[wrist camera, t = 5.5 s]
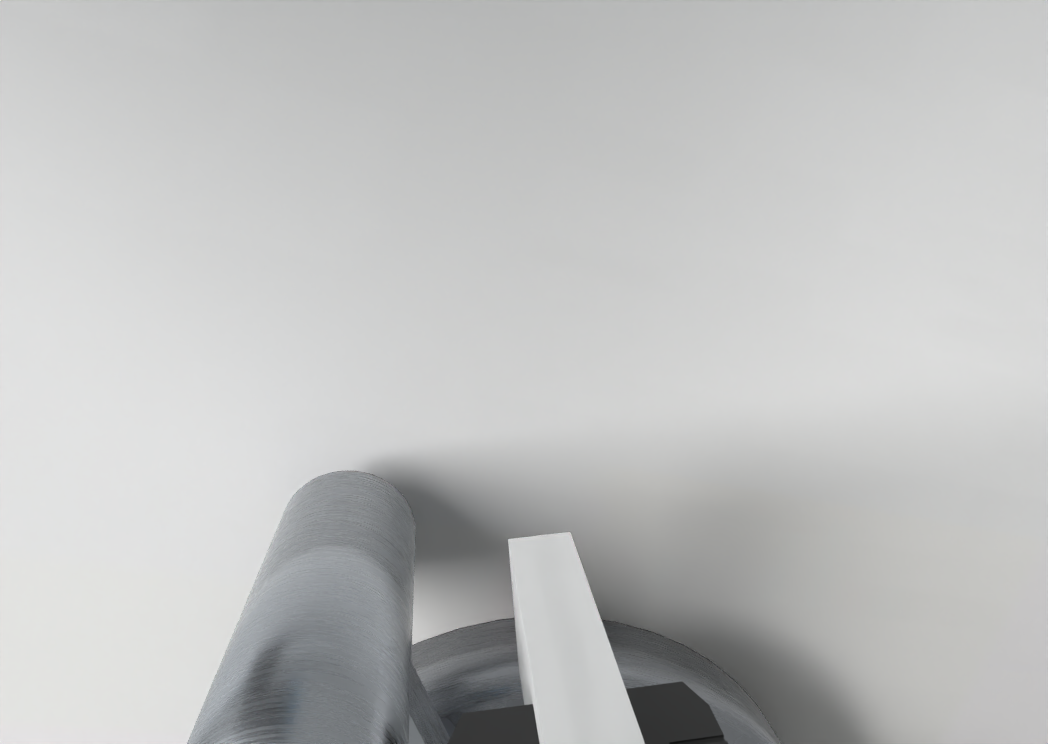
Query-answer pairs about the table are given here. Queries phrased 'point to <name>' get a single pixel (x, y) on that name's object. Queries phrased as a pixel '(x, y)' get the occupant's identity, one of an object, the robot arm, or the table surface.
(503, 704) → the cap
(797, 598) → the table surface
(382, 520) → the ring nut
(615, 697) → the robot arm
